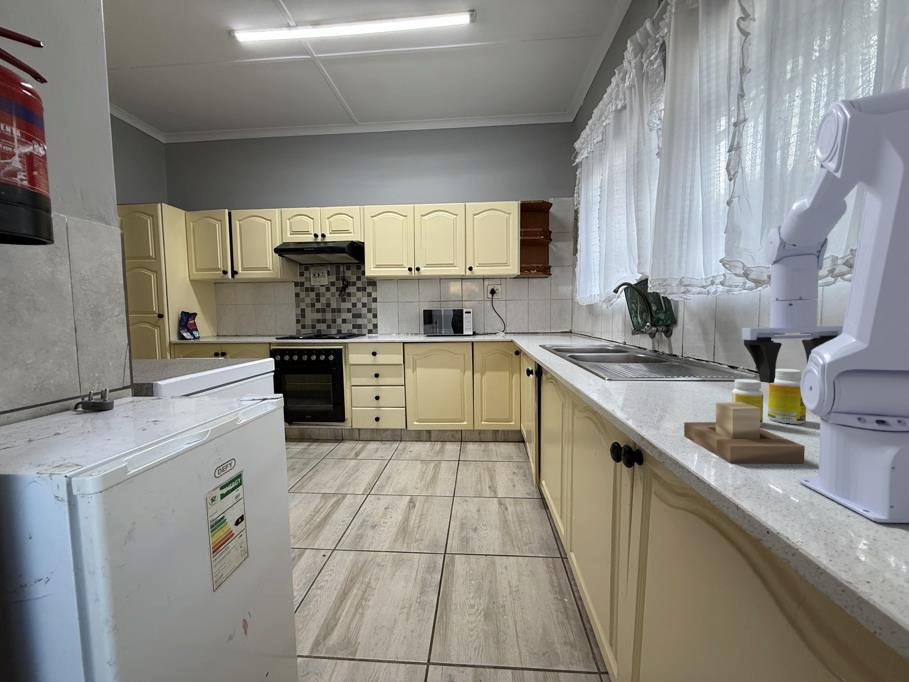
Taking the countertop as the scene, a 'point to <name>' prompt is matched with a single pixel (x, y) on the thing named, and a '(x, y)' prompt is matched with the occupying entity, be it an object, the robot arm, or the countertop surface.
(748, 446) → the collar block
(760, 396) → the supplement bottle
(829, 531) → the countertop surface
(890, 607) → the countertop surface
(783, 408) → the supplement bottle
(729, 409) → the oak peg
